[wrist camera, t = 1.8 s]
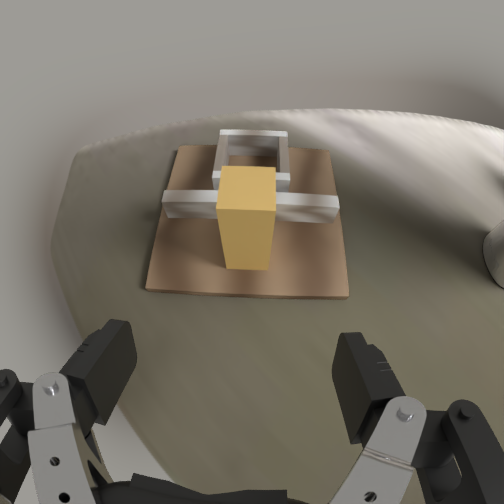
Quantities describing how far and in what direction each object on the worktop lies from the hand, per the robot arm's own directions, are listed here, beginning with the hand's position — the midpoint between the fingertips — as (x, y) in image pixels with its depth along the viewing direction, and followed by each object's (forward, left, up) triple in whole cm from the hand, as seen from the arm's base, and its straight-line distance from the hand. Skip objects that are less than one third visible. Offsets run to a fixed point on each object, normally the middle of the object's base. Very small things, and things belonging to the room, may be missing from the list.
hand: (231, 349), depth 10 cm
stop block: (0, -12, -15) cm, 19 cm away
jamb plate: (0, -17, -16) cm, 23 cm away
